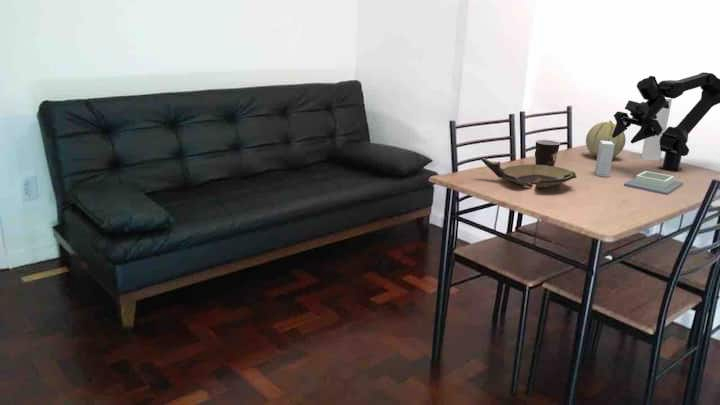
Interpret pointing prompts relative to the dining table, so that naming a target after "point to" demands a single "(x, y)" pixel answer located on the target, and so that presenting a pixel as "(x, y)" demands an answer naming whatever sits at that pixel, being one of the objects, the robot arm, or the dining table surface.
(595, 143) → the cantaloupe
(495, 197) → the dining table surface
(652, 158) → the white tall block
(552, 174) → the oil lamp
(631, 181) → the collar board
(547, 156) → the coffee mug
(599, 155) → the skincare box
